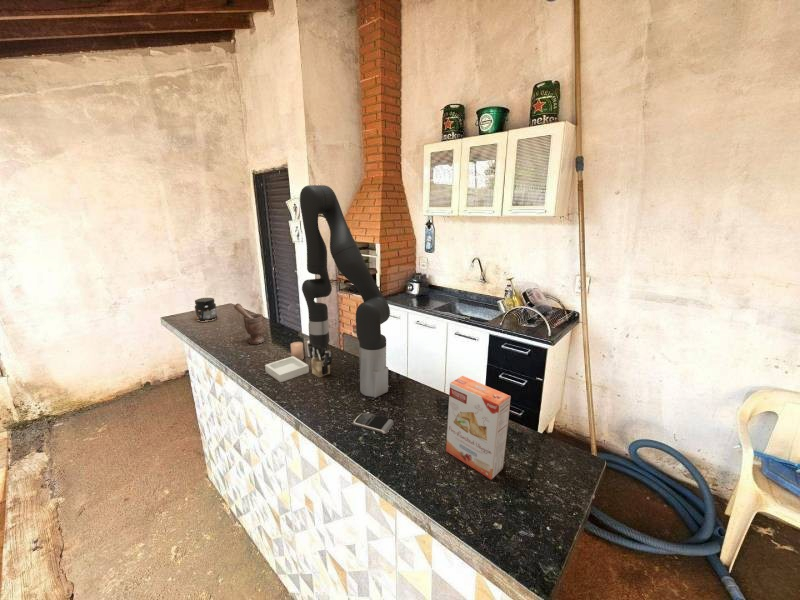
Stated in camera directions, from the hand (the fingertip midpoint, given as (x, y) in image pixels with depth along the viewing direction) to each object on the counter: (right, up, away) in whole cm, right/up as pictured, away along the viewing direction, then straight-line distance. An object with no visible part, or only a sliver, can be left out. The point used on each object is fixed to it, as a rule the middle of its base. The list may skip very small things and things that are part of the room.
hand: (321, 371), depth 135 cm
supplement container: (-79, +16, +62) cm, 101 cm away
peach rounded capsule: (-13, +3, +12) cm, 18 cm away
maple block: (0, -1, 0) cm, 1 cm away
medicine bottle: (-5, +4, +17) cm, 18 cm away
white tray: (-13, 0, +1) cm, 13 cm away
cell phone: (+23, -10, -31) cm, 40 cm away
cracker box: (+50, -14, -46) cm, 69 cm away
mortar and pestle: (-39, +7, +29) cm, 49 cm away
